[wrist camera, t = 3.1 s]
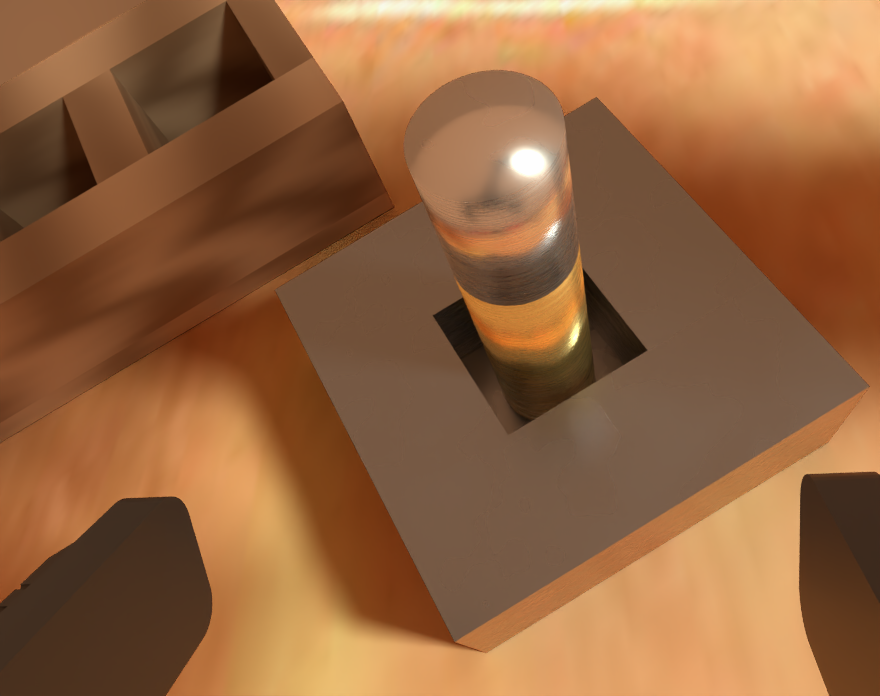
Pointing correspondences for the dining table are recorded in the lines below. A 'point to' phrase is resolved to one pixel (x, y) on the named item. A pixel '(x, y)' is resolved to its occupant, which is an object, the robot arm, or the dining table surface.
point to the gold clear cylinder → (508, 228)
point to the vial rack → (161, 188)
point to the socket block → (581, 416)
